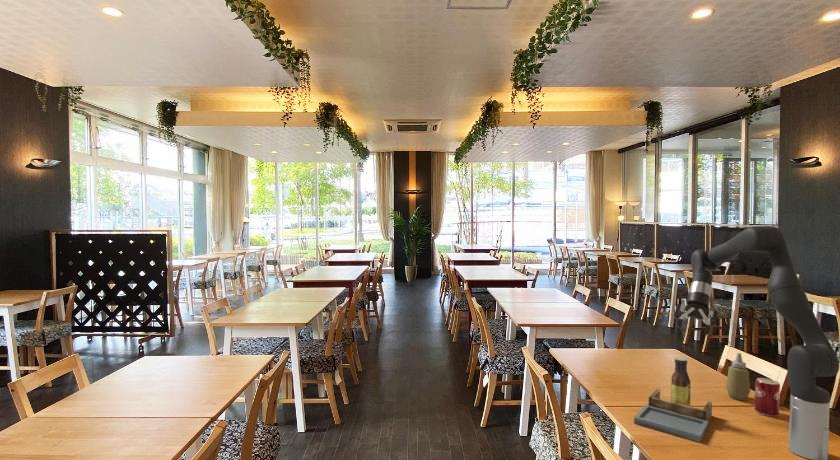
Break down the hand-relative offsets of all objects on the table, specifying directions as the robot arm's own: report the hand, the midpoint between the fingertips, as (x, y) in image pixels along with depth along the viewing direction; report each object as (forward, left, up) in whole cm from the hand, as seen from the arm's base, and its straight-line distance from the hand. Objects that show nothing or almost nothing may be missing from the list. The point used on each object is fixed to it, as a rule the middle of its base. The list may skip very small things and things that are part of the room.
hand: (692, 332), depth 178 cm
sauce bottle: (+1, +14, -28) cm, 31 cm away
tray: (+1, +28, -28) cm, 39 cm away
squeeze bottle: (-13, -18, -28) cm, 36 cm away
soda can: (-23, -8, -28) cm, 37 cm away
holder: (+1, +14, -28) cm, 31 cm away
